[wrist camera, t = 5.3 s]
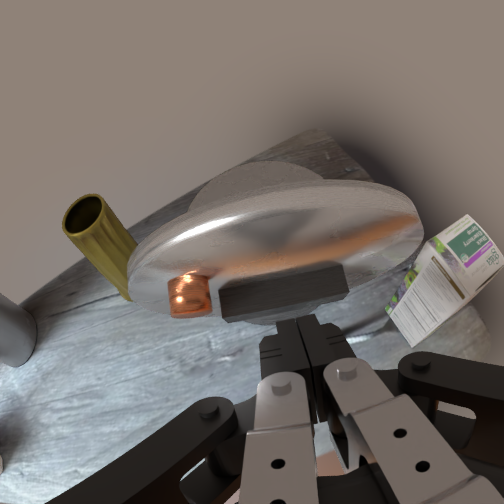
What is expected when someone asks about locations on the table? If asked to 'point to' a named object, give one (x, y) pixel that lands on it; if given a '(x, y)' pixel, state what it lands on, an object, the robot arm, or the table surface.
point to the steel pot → (249, 180)
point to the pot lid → (273, 250)
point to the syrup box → (444, 279)
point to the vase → (100, 238)
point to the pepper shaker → (1, 465)
